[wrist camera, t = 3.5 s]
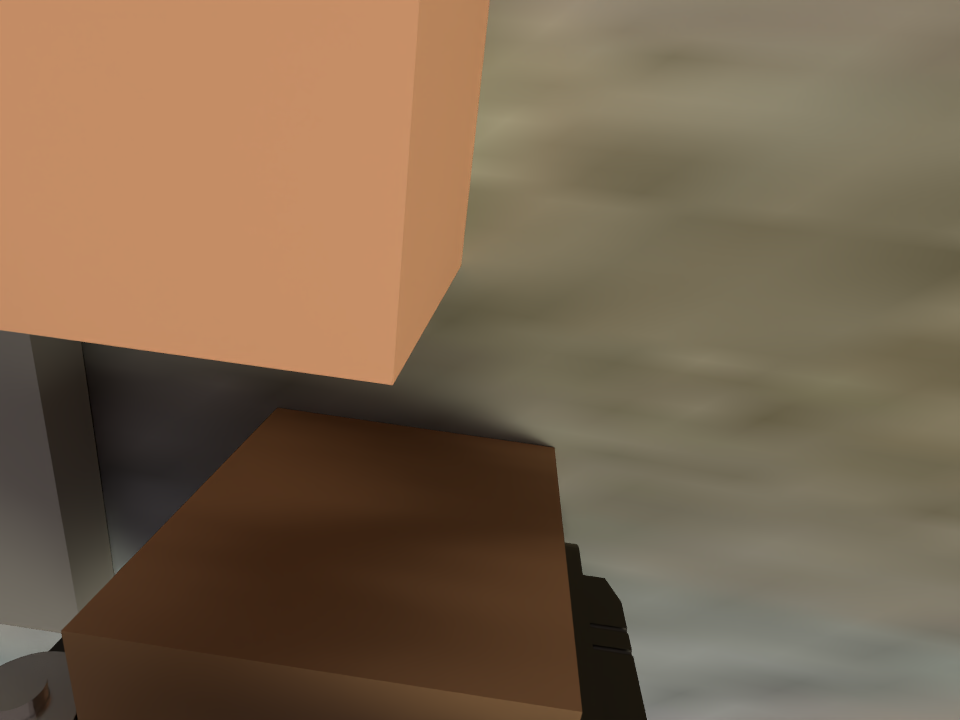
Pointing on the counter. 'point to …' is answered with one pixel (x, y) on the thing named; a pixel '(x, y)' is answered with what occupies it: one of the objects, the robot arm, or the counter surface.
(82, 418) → the plate
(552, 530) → the walnut block
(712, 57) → the counter surface
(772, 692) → the counter surface
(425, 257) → the terracotta block
